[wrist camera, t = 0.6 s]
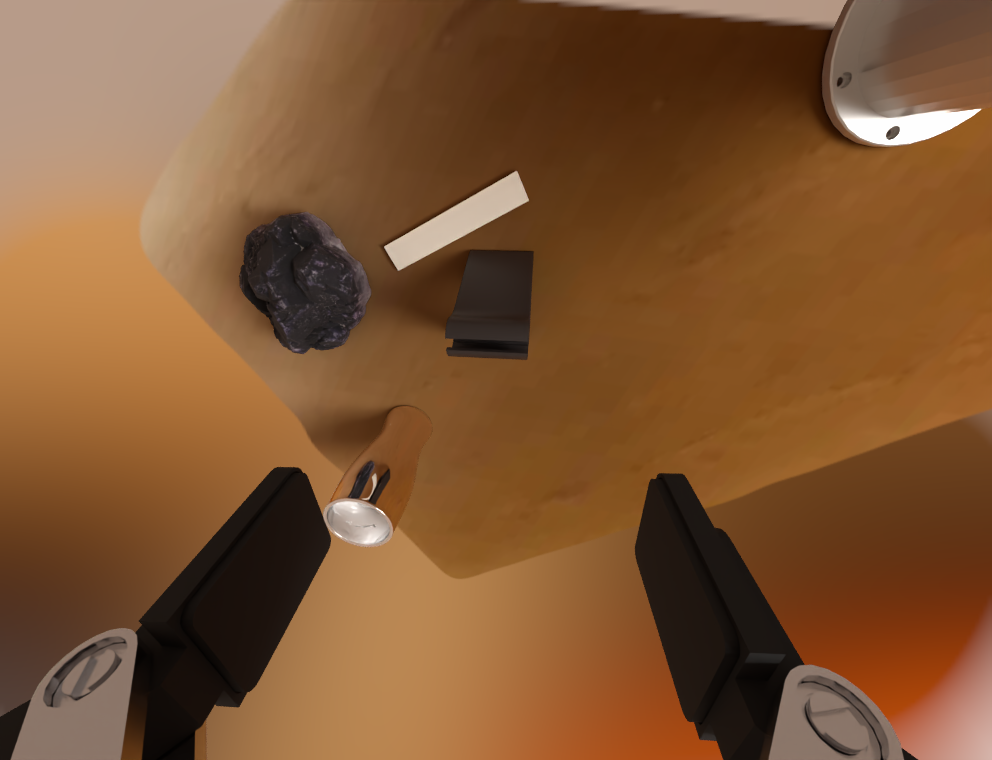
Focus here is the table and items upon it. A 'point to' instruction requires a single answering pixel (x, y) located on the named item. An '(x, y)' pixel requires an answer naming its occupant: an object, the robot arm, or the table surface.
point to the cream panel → (458, 221)
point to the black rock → (304, 282)
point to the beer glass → (379, 481)
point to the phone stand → (493, 306)
